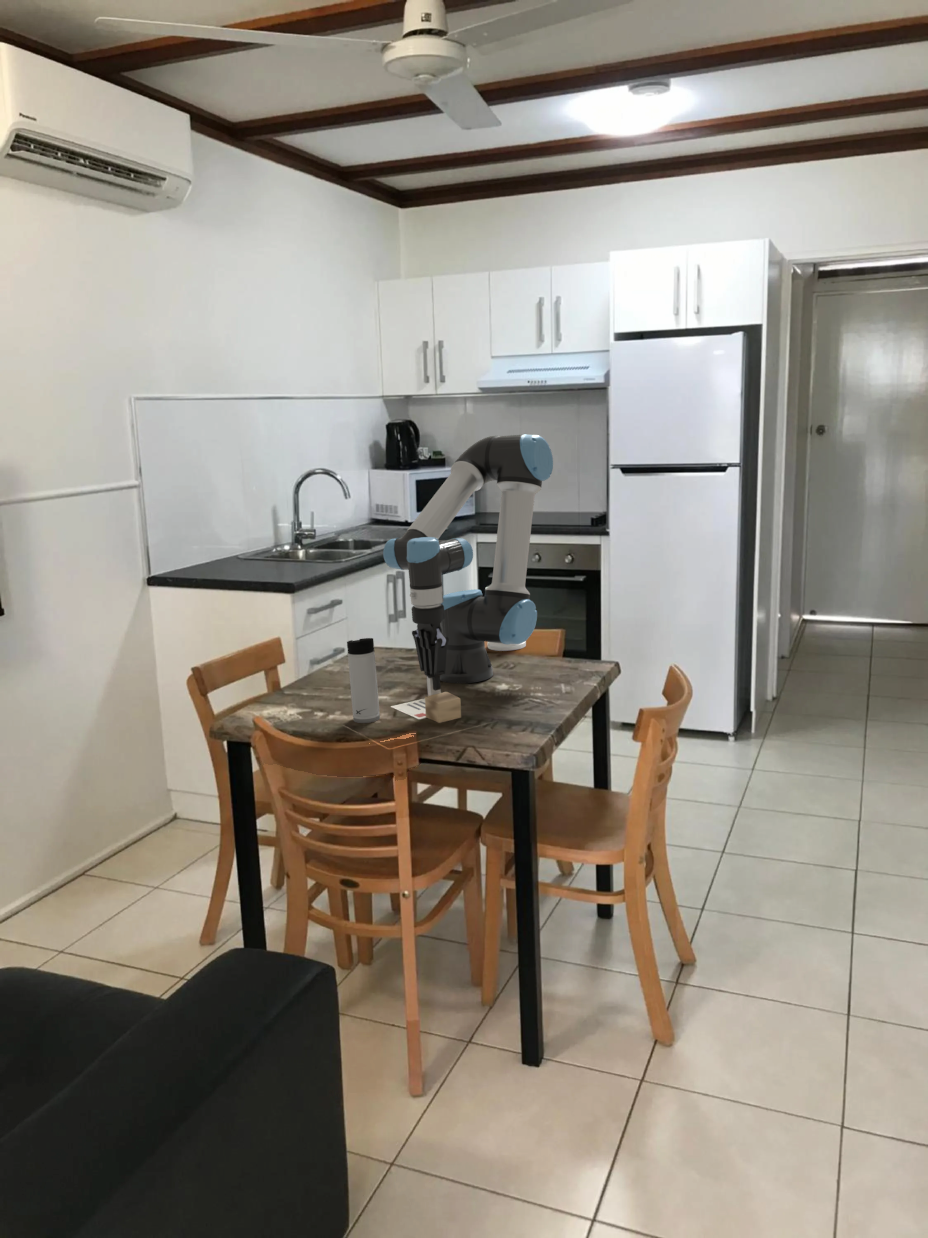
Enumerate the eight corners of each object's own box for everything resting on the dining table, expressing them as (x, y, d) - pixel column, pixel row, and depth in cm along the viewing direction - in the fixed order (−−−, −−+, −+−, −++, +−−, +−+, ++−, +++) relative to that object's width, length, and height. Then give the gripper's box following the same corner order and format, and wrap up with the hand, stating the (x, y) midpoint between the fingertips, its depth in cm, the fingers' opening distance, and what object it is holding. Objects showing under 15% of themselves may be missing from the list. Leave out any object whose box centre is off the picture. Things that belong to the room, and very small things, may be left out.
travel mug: (359, 726, 232) (352, 642, 227) (349, 719, 237) (342, 637, 233) (384, 721, 234) (378, 638, 230) (373, 714, 240) (367, 633, 236)
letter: (390, 707, 245) (390, 706, 245) (425, 699, 250) (425, 698, 250) (419, 720, 233) (419, 719, 233) (455, 711, 238) (455, 710, 238)
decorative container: (491, 652, 294) (487, 592, 290) (484, 643, 305) (481, 585, 301) (529, 648, 295) (526, 588, 292) (521, 640, 307) (518, 582, 303)
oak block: (425, 716, 235) (424, 696, 233) (447, 711, 238) (446, 691, 236) (439, 724, 230) (438, 703, 228) (461, 718, 233) (460, 698, 231)
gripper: (399, 603, 235) (407, 699, 240) (428, 611, 224) (436, 711, 229) (426, 598, 239) (434, 693, 244) (456, 605, 228) (463, 704, 233)
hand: (435, 702), depth 236 cm, fingers closed
